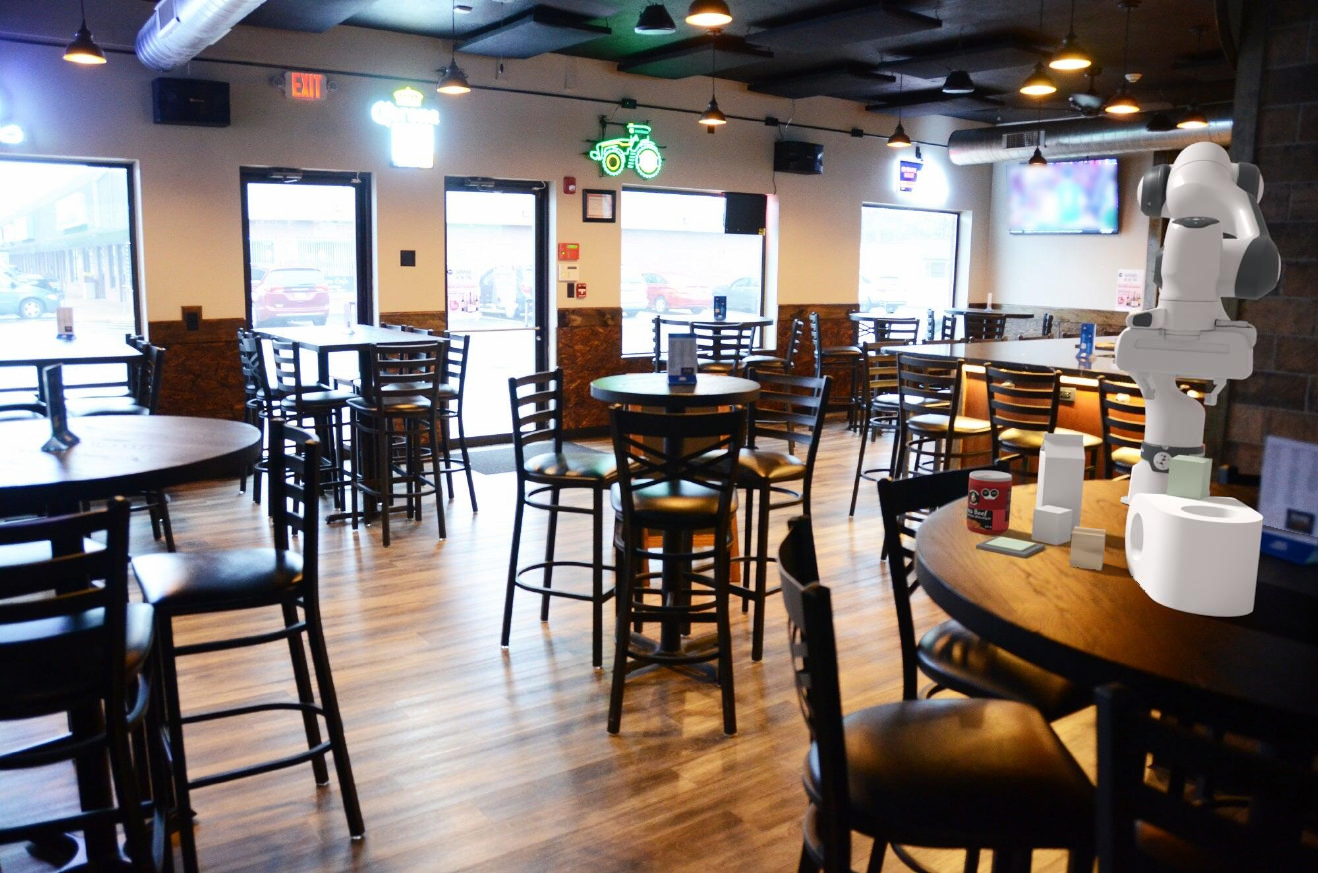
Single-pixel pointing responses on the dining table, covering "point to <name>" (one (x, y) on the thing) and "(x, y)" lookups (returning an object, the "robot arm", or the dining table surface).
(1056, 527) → the grey block
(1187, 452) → the robot arm
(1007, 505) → the canned food
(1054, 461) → the milk carton
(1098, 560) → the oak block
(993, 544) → the swatch
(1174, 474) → the sage block
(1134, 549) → the white cross-bored block
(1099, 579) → the dining table surface
